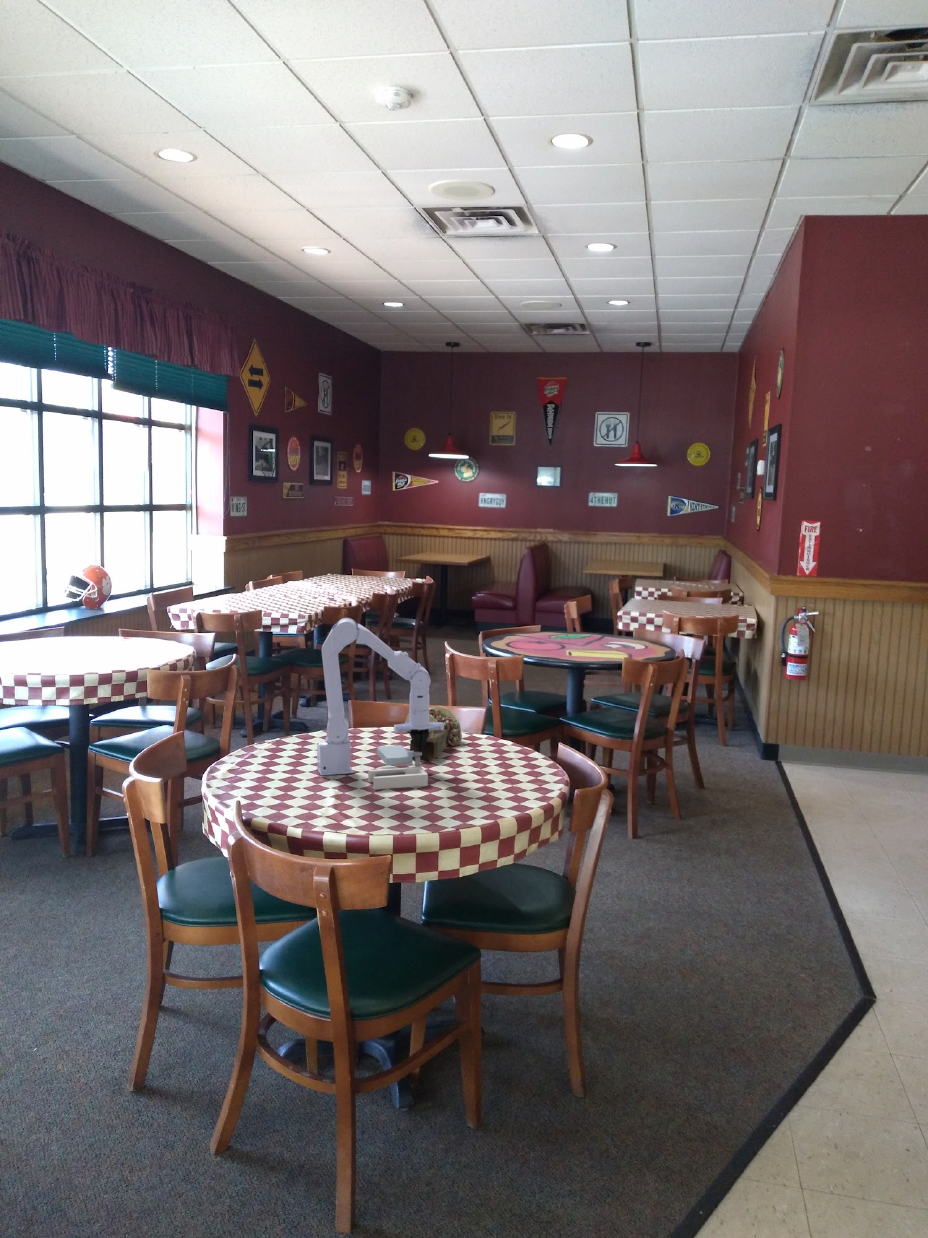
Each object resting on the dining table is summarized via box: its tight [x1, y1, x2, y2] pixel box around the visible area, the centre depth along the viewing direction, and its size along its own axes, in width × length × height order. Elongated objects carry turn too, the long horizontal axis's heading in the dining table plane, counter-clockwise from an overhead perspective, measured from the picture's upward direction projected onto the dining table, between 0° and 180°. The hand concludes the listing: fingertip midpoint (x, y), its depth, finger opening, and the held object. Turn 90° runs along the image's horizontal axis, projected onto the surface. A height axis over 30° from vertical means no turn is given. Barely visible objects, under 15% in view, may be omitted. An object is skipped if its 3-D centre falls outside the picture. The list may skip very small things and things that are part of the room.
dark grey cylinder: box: [375, 772, 406, 777], centre depth 254 cm, size 8×3×3 cm
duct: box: [367, 756, 429, 790], centre depth 254 cm, size 15×10×6 cm, turn 107°
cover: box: [376, 744, 422, 766], centre depth 265 cm, size 15×10×3 cm, turn 17°
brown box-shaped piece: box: [409, 729, 449, 762], centre depth 286 cm, size 8×19×7 cm, turn 166°
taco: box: [404, 705, 463, 747], centre depth 305 cm, size 10×27×10 cm, turn 39°
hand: (418, 755), depth 267 cm, fingers closed
